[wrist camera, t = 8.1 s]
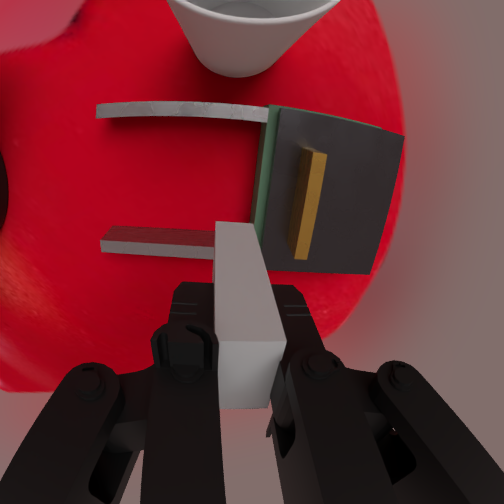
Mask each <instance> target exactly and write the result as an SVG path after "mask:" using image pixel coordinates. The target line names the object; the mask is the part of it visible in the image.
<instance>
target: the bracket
mask: <svg viewBox="0 0 504 504" xmlns="http://www.w3.org/2000/svg"><path fill="white" fill-rule="evenodd" d="M268 112H269V108H265V107H257V106H247V105H237V104H225V103H210V102H186V101H146V102H122V103H108V104H97V109H96V118H108V117H128V116H192V117H212V118H226V119H238V120H249V121H258V122H266V123H267V120H268ZM214 242H215V231H203V230H187V229H169V228H151V227H132V226H112V227H111V228H110V229H109V231H108V232H107V233H106V234H105V235H104V236H103V237H102V239H101V240H100V243H101V251H102V252H110V253H124V254H138V255H153V256H168V257H184V258H199V259H213V258H214Z"/></svg>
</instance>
